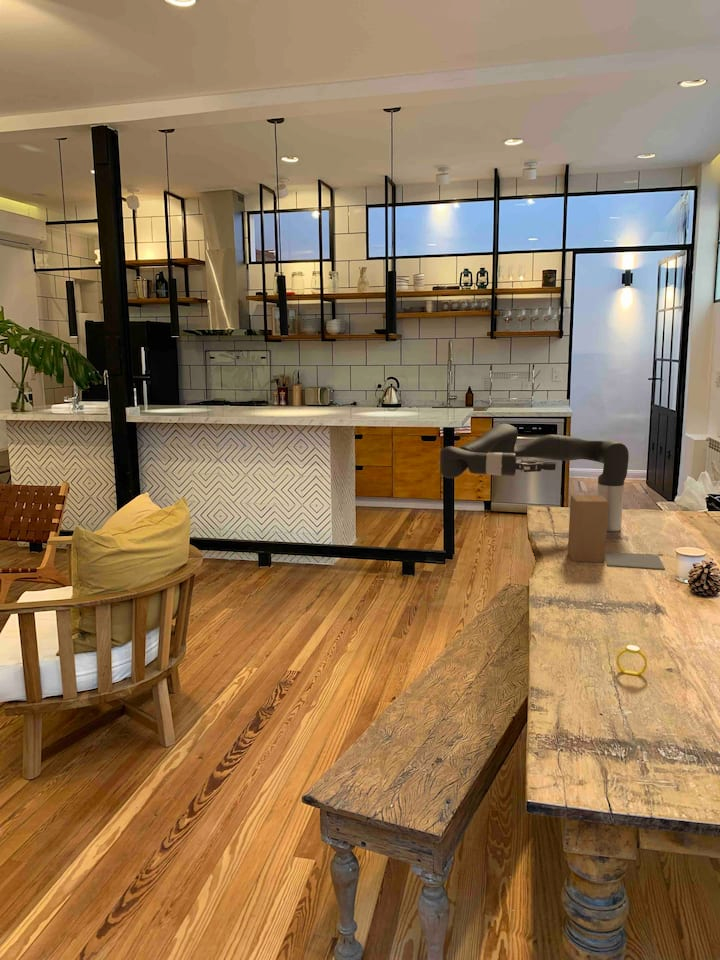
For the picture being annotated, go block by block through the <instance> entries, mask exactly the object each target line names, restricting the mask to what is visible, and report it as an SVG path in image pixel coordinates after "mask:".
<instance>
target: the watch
mask: <svg viewBox="0 0 720 960" xmlns="http://www.w3.org/2000/svg"><path fill="white" fill-rule="evenodd" d="M627 652H628V653H630V654H639V655H640V656H641V657H642V658H643V661H644V665H643V667H642V668H641V669H640V670H638V671H633V670H626V669H625V668H624V667H622V666H621V663H620V661H619V659H620V657H621V656H622V654H624V653H627ZM616 666H617V668H618V670H619V672H621V673H622V674H626V675H632V676H636V677H638V676H641V675H642V674H644V672H645V671H646V669H647V667H648V659H647V656H646V655H645V653H644V652H643V651H642V650H641V649H640V647H639V646H637V645H633V644H629V645H628V644H627V645H626V646H625V648H622V649H621V650H620V651H619V652H618V653H617V656H616Z"/></svg>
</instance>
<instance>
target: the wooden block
mask: <svg viewBox="0 0 720 960" xmlns="http://www.w3.org/2000/svg"><path fill="white" fill-rule="evenodd" d="M569 503H570V505H569V519H568V523H569V525H568V540H567V541H568V542H567V553H568V555H569V557H570V559H571V560H572V562H573V563H574V562H575V563H606V560H605V552H607V551H606V550H607V534H608V533H607V532H608V531H607V520H608V504H609V503H608V501H607V500H606V499H604V498H603V497H602V496H601V495H596V494H595V495H594V494H593V495H591V494H572V495H570V502H569Z"/></svg>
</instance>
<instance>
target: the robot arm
mask: <svg viewBox="0 0 720 960" xmlns="http://www.w3.org/2000/svg"><path fill="white" fill-rule="evenodd" d="M518 435H519V432H518V429H517V427H515V426H514V425H511V424H509V423H499V424H496V425H494V426H493V427H492V428H490V429H489V430H488V431H486V432H485V433H484V434H482V435H481V436H479V437H478V438H476V439H475V440H473V441H471V442H468V443H466V444H464V445H461V446H460V447H457V446H453V445H450V446H449V445H448V446H445V447H443V448H442V449H441V450H440V455H439V457H440V458H439V460H440V462H439V464H440V465H439V466H440V468H439V469H440V473H441V475H442V476H443V477H444V478H446V479H455V478H458V477H459V476H462V474H463V473H465V471H466V470H468V471H469V473H471V474H476V475H478V474H479V475H481V474H482V475H491V476H507V477H515V475H516V470H518V471H520V472H521V473H523V472H524V473H529V472H530V473H531V472H535V473H536V472H541V471H555V470H556V468H557V466H556V464H557V463H556V462H555V461H567V462H568V461H575V460H577V461H578V460H585V461H586V460H587V461H592V462H598V463H601V464H603V469H602V473H601V474H600V475H599V476H597V477H598V478H597V489H596V490H597V491H596V492H597V493H596V494H597V495H601V496H602V497H603V498H604V499H606V500H607V501H608V503H609V504H608V520H607V532H619V531H621V530H622V521H623V520H622V519H623V507H624V506H623V505H624V490H625V489H624V487H625V480H626V478H627V475H628V469H629V468H628V467H629V459H630V456H629V449H628V448H627V446H626V444H623V443H621V442H619V441H616V440H612V439H607V440H606V439H602V440H598V439H596V440H593V439H591V440H590V439H582V438H578V437H574V436H568V435H563V434H562V435H561V434H554V433H553V434H552V433H551V434H546V435H543V436H541V437H538V438H536V439H533V440H532V441H529V442H524V443H517V441H518V440H517V439H518ZM517 458H521V459H517ZM542 459H546V460H553V461H544V460H542Z"/></svg>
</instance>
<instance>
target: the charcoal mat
mask: <svg viewBox="0 0 720 960" xmlns="http://www.w3.org/2000/svg"><path fill="white" fill-rule="evenodd" d="M605 563H606V566H607V567H616V568H617V567H618V568H633V569H646V568H648V569H647V570H660V569H663V570H662V571H665V570H666V568H665V566H664V564H663V562H662V559H661V558H660V556H659V555H658V554H648V553H631V552H615V551H606V552H605Z"/></svg>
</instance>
